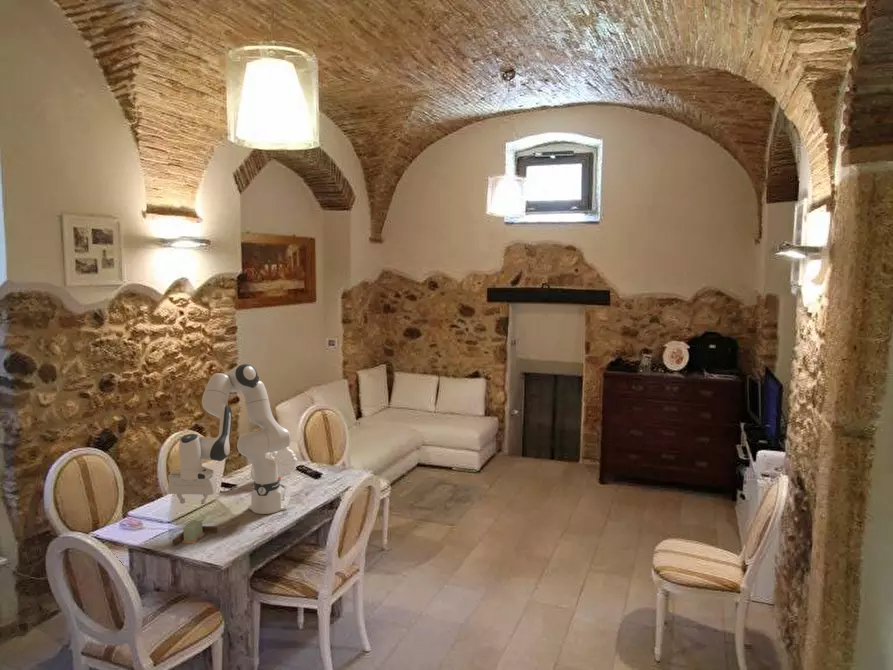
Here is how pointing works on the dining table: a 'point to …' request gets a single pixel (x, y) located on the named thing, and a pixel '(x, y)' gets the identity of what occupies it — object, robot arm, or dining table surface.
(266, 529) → the dining table surface
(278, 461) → the decorative rooster
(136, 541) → the dining table surface
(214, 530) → the brown flat wooden frame
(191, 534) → the sage block
